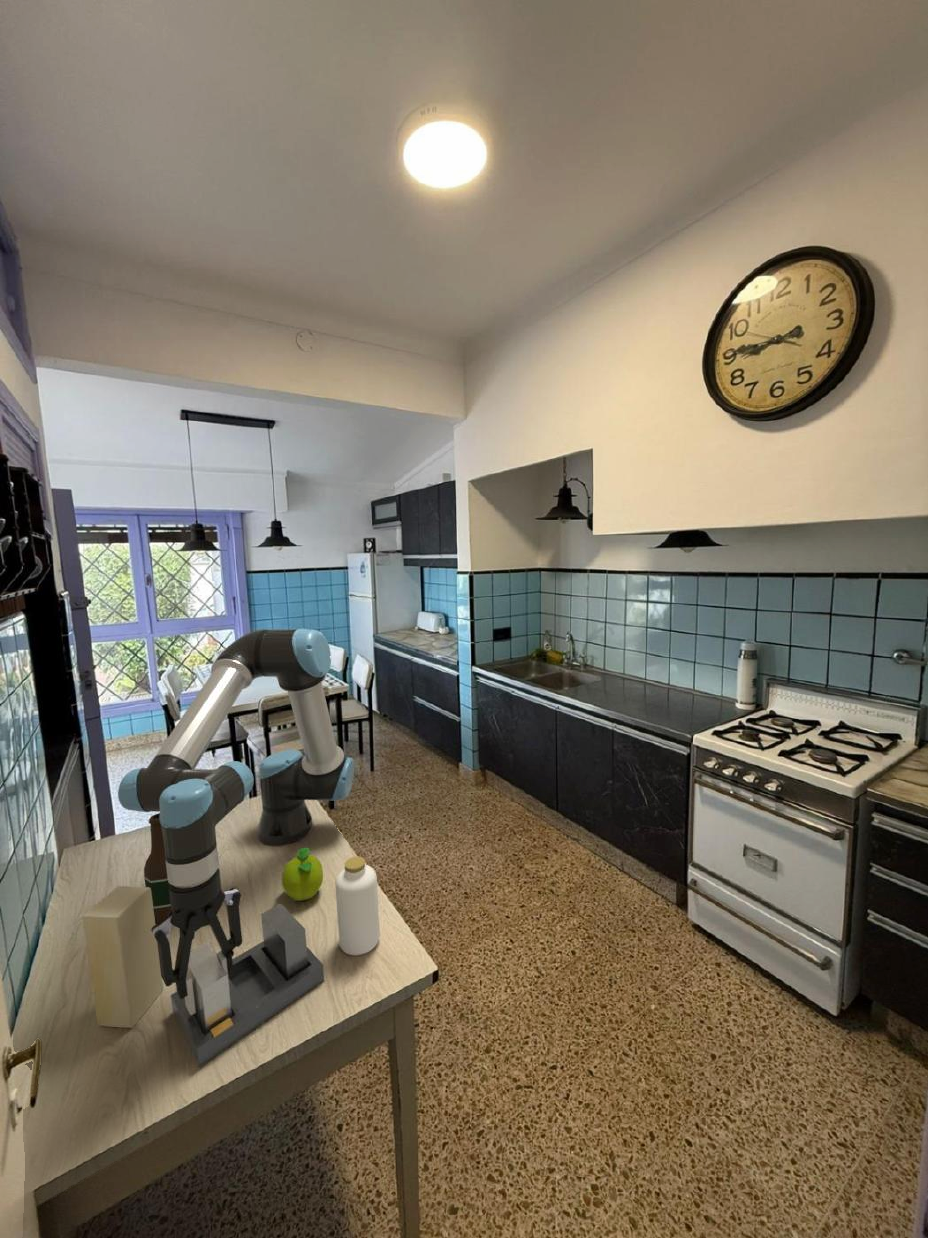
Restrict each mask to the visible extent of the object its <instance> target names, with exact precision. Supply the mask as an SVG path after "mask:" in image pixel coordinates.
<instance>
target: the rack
mask: <svg viewBox="0 0 928 1238" xmlns="http://www.w3.org/2000/svg"><path fill="white" fill-rule="evenodd" d="M260 917H261V925H262V926H261V927H262V936H263V937H262V938H263V940H262V941H261V942H259V943H258V944H256V945H255V946H252V947H251V948H249V949H247V950H246V951H244V952H242V953H241V954H239V955H237V956H235V957H234V958H232V962H233V967H232V969H231V970H229V971H228V981H229V990H230V992H229V993H230V1003H231V1013H232V1018H230V1017H229V1018H228V1019H226V1020H225V1021H223V1022H222V1023H220V1024H219V1025H217V1026H216V1027H214V1028H213V1029H211V1032H209V1033H208V1034H206V1035H205V1036H204V1035H203V1033H202V1031H201V1029H200V1027H199V1025H198V1023H197V1021H196V1019H195V1017H194V1016H193V1015H190V1013H189V1011H188V1009H187V1007H186V1005H185V997H184V998H183V999H180V997H179V995H178V994H177V991H175V992H174V993H172V994H170V1000H171V1006H172V1010H171V1011H172V1013H173V1016H174V1017H175V1020H176V1022H177V1024H178V1027H179V1028H180V1030H181V1031H180V1032H181V1033H182V1035H183V1037H184V1038H185V1041H186V1044H187V1045H188V1048H189V1049H190V1052H191V1053H192V1055H193V1058H194V1060H195V1061H196V1064H197V1066H198V1068H200V1069H201V1068H202V1067H203V1066H205V1064H207V1063H209V1062H210V1061H212V1060H213V1059H215V1058H216V1057H218V1056H219V1055H220V1054H222V1053H223V1052H225V1051H226V1050H227V1049H229V1048H230V1047H232V1046H233V1045H235V1044H236V1043H238V1042H239V1041H240V1040H242V1039H244V1038H245V1037H246V1036H248V1035H249V1034H250V1033H252V1032H254V1030H256V1029H257V1028H259V1027H260V1026H262V1025H263V1024H265V1023H267V1021H269V1020H270V1019H271V1018H274V1017H275V1016H277V1014H279V1013H280V1012H282V1011H283V1010H285V1009H286V1008H288V1007H289V1006H291V1005H292V1004H293V1003H295V1002H296V1001H297V1000H299V999H300V998H301V997H304V995H306V994H308V993H309V992H311V991H312V990H313V989H314V988H316V987H317V986H319V985H320V984H322V983H324V982H325V975H324V974H325V973H324V964H323V963H322V962H321V960H319V958H318V957H317V956H316V955H315V953H313V952H312V951H311V950H310V949H309V947H308V946H307V933H306V928H305V926H303V925H302V924H301V923H300V922H299V921H298V920H297V918H295V916H294V915H293V914H292V913H291V912H290V911H289V910H288V909H287V908H286V907H285V906H284V905H283V904H282V903H279V904H277V905H275V906H274V907H271V908H269V909H268V910H266V911H264V912H262V913H261V916H260Z"/></svg>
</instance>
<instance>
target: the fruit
mask: <svg viewBox="0 0 928 1238" xmlns="http://www.w3.org/2000/svg"><path fill="white" fill-rule="evenodd" d="M323 879H324V871H323V865H322V863H321V861H320V859H318V858H317V857H316V856H314V855H311V854H310V848H309V847H303V848H300V849H298V850H297V856H296V857H294V858H293V859H291V860H289V861H288V862H287V863H286V864H285V865H284V868H283V870H282V873H281V885H282V888H283V890H284V892H285V894H287V895H288V896H289V897H290V898H291V899H293V900H295V901H298V902H300V901H301V902H302V901H305V900H309V899H311V898H313V896H315V895H316V893H317V892H318V891H319V889H321V886H322V885H323Z"/></svg>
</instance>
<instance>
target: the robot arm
mask: <svg viewBox="0 0 928 1238" xmlns="http://www.w3.org/2000/svg"><path fill="white" fill-rule="evenodd" d="M331 655H332V654H331V648H330V644H329V641H328V640H327V638H326V637H325V635H324V634H323V633H322V632H320V630H319V631H318V630H316V629H307V628H297V629H257V630H254V631H251V632H248V633H246V634H244V635H242V636H240V637H239V638H237V639H236V640H235V641H233V642H232V643H230V644H229V645H228V646H227V647H226V648H225V649H224V650H223V651H222V652H221V653H220V654H219V656H218V657H216V659H215V660H214V662H213V663H212V664H211V668H210V672H211V674H210V676H209V677H208V679H206V682H205V683H204V684H203V686H202V688H201V689H200V690H199V692H198V693H197V695H196V696H195V698H194V699H193V701H192V702H191V704H190V705H189V706H188V707H187V709H186V711H185V712H184V714H183V715H182V716H181V718H180V719H179V721H178V723H177V724H176V725H175V727H174V728H173V729H172V731H171V733H170V734H169V735H168V737H167V739H166V740H165V742H164V743H163V745H162V746H161V747H160V748H159V750H158V752H157V753H156V754H155V756H154V758H152V760H151V761H150V763H149V765H148V766H147V767H140V768H134V769H132V770H131V771H129V772H127V773H126V774H125V775H124V776H123V777H122V779H121V781H120V784H119V786H118V790H117V798H118V801H119V802H118V803H120V805H121V806H122V807H123V808H124V809H125V810H128V811H135V812H141V813H143V812H144V813H150V812H155V813H156V812H157V813H160V815H159V820H160V823H161V827H162V834H163V840H164V847H165V858H166V867H167V877H168V882H169V895H170V903H171V911H170V913H169V916H168V919H167V920H166V921H165V922H163V923H162V924H161V925H160V926H159V925H154V926H153V927H152V929H151V931H152V933H153V935H154V937H155V939H156V940H157V945H158V953H159V961H160V970H161V977H162V982H163V984H164V985H165V986H166V987H171V985H172V984H175V988H176V992H177V994H178V995H179V997H180V999H183V998H184V997H185V1005H186V1007H187V1009H188V1011H189V1013H190V1015H193V1014H195V1013H196V1011H195V1003H194V994H193V985H192V978H191V976H190V974H189V973H188V971H187V970H188V964H189V958H190V952H191V951H192V944H193V940H194V939H195V934H196V933H195V932H197V931H198V930H199V929H202V928H203V927H206V926H208V925H209V927H210V929H211V932H212V933H213V935H214V937H215V939H216V942H217V944H218V946H219V948H220V950H218V951H216V952H215V956H216V958H217V959H218V961H219V962H220V964H221V965H222V967H223V968H224V970H225V971H226V973H227V974H228V971H229V970H231V969H232V967H233V962H232V959H233V956H234V955H235V952H234V950H235V948H236V947H237V948H238V947H240V946H242V944H243V936H242V935H243V934H242V925H241V923H242V922H241V914H240V903H241V899H242V893H240V891H239V890H238V889H237V887H234V886H232V887H231V888H230V889H229V890H228V891H224V890H223V889H222V881H221V873H220V868H219V867H220V864H219V863H220V861H219V853H218V846H217V845H218V844H217V842H218V841H217V835H216V834H217V833H216V832H217V831H216V826H217V824H219V823H220V822H221V821H222V820H223V819H224V818H225V817H226V816H228V815H229V813H231V811H233V810H234V809H235V808H236V807H237V806H238V805H239V804H241V803H242V802H243V801H244V800H245V798H246V797H247V796H248V795H249V793H250V792H251V791H252V790H253V787H254V779H255V778H254V774H253V772H252V770H251V769H250V768H249V766H248V765H246V763H243V762H242V761H241V762H240V761H235V760H233V761H227V762H226V763H224V764H221V765H220V766H218V767H217V768H215V769H203V768H201V769H196V767H197V765H198V764H199V762H200V761H201V759H202V757H203V756H204V754H205V752H206V751H207V750H208V748H209V745H210V744H211V742H212V740H213V739H214V737H215V736H216V734H217V733H218V730H219V729H220V728H221V726H222V724H223V722H224V721H225V719H226V718H227V716H228V714H229V712H230V711H231V709H232V708H233V706H234V704H235V702H237V701H236V700H237V699H238V698H239V696H240V694H241V693H242V691H243V690H245V689H247V688H248V687H250V686H251V684H252V682H253V681H254V680H255V679H257V678H261V677H265V678H266V677H267V678H268V677H269V678H272V677H274V678H277V681H278V686H279V687H280V689H281V690H283V691H285V692H287V694H288V697H289V701H290V704H291V708H292V712H293V716H294V720H295V724H296V727H297V730H298V735H299V738H300V741H301V745H302V749H303V752H304V756H303V754H302V752H301V751H300V750H298V749H286V750H281V751H278V752H274V753H272V754H271V755H269V756H267V757H265V758H264V759H263V760H262V761H261V762H260V764H259V767H258V770H259V771H258V772H259V773H258V774H259V775H258V779H259V784H260V785H259V787H260V795H261V805H262V812H261V816H260V819H259V822H258V827H257V837H258V840H259V842H261V843H262V844H264V845H268V846H283V845H288V844H292V843H295V842H297V841H300V840H302V839H304V838H306V837H307V835H308V834H310V832H311V831H312V830H313V826H314V825H313V823H314V822H313V817H312V814H311V812H310V810H309V807H308V806H307V803H306V801H329V802H330V801H331V802H333V801H342V800H345V799H346V798H347V797H348V796H349V795H350V792H351V791H352V790H351V789H352V786H353V782H354V776H355V761H354V759H353V757H351V758H350V757H349V756H348V757H347V756H346V757H345V754H344V753H345V752H344V750H343V749H342V748H341V747H340V746H338V745H337V742H336V739H335V734H334V731H333V726H332V721H331V717H330V711H329V708H328V704H327V700H326V696H325V691H324V687H323V681H325V679H326V676H327V675H328V673H329V671H330V668H331V663H332V659H331ZM302 756H303V757H302ZM223 903H225V904H226V910H227V911H226V912H227V918H228V919H227V920H228V922H227V923H228V931H229V939H228V938H227V935H226V933H225V931H224V929H223V927H222V925H221V922H220V919H219V917H218V916H217V915H218V913H219V911H220V909H221V907H222V905H223ZM173 926H174V927H176V928H178V929H179V938H178V944H177V950H176V956H175V957H176V958H175V963H174V968H173V961H172V960H173V959H172V952H171V943H170V939H169V937H170V936H171V933H172V932H171V928H172V927H173ZM228 984H229V981H228ZM229 992H230V990H229Z"/></svg>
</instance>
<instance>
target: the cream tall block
mask: <svg viewBox="0 0 928 1238" xmlns="http://www.w3.org/2000/svg"><path fill="white" fill-rule="evenodd" d="M82 924H83V929H84V936H85V944H86V950H87V957H88V964H89V969H90V970H89V971H90V978H91V983H92V984H91V985H92V990H93V999H94V1006H95V1012H96V1021H97V1025H98V1026H101V1027H107V1028H109V1027H110V1028H112V1027H113V1028H122V1029H123V1028H125V1029H126V1028H128V1029H132V1028H133V1027H135V1026H136V1025H137V1023H138V1022H139V1021H140V1020H141V1018H142V1017H143V1016H144V1014H145V1013H146V1012H147V1011H148V1010H149V1008H150V1007H151V1006H152V1005H153V1003H154V1002H155V1001H156V1000H157V998H158V997H159V996H160V995H161V994H162V992H163V990H164V985H163V984H164V982H163V979H162V977H161V970H160V961H159V953H158V945H157V940H156V939H155V937H154V935H153V933H152V931H151V929H152V927H153V926H154V925H155V918H154V910H153V902H152V893H151V889H150V888H149V887H145V886H128V885H127V886H116V888H114V889H113V890H112V891H111V892H110V893H108V894H107V895H105V897H104V898H102V899H101V900H100V901H99V902H97V904H95V905H94V906H92V907H91V908H90V909H89V910H88V911H87V912H85V914H84V915H82Z"/></svg>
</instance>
